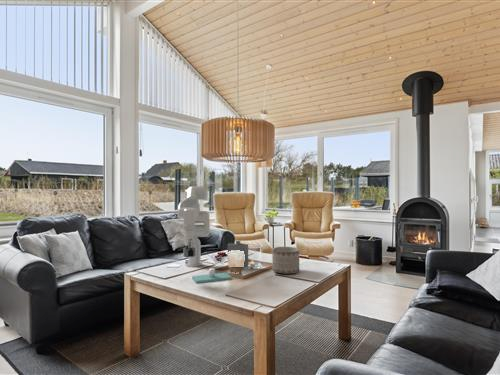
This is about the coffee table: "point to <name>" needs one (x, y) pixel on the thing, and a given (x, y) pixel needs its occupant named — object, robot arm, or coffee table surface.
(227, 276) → the piston stand
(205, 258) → the coffee table surface
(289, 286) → the coffee table surface
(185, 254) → the gunmetal ring
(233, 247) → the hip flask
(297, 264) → the planter
